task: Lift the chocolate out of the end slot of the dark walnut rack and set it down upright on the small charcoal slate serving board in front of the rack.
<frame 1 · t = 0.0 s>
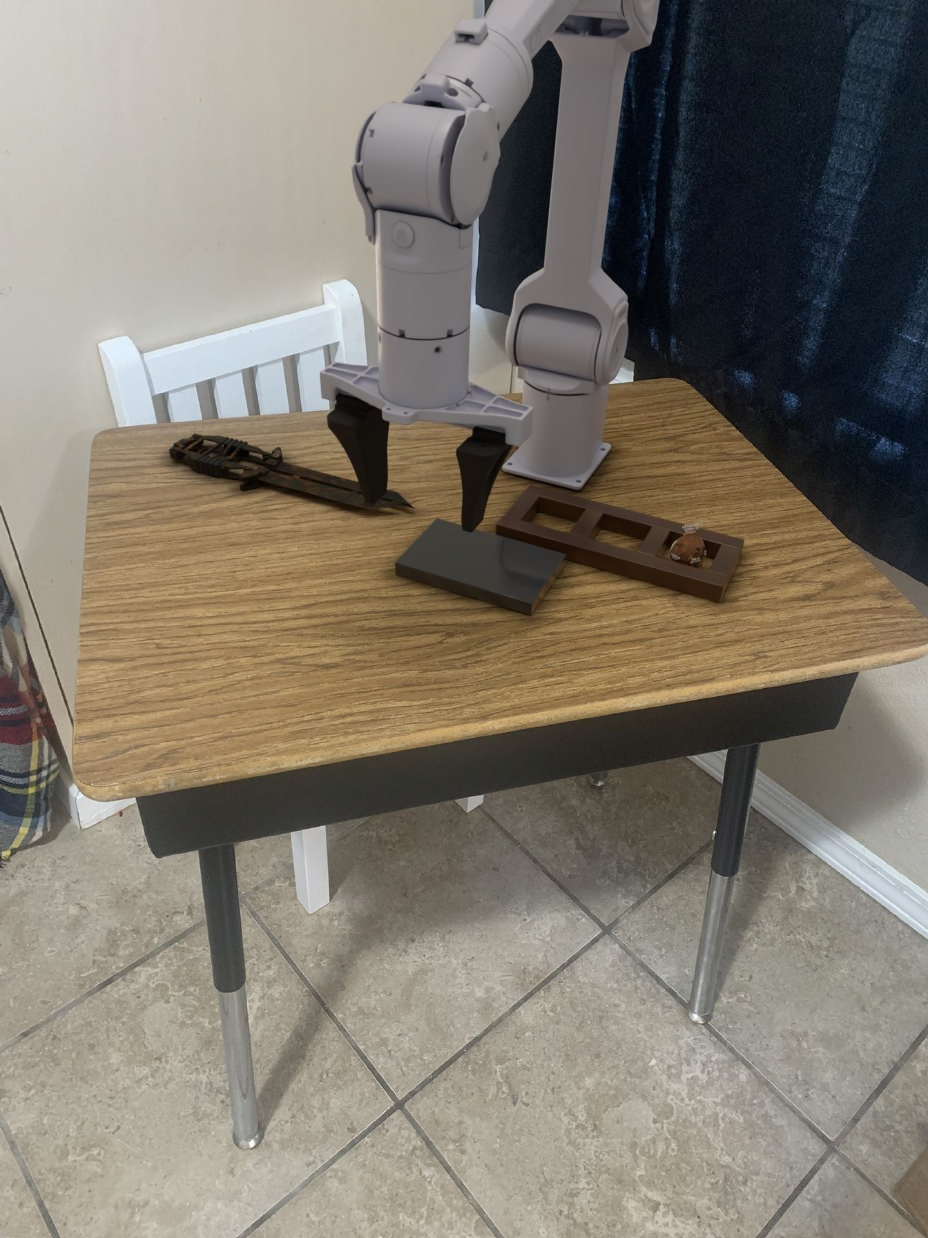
hand: (423, 510, 69), 10 cm above the table, tool pointing down, fingers open, 7 cm apart
chocolate: (685, 567, 82), resting in rack
knife: (293, 482, 91), on the table
rack: (617, 547, 84), on the table
board: (481, 570, 81), on the table
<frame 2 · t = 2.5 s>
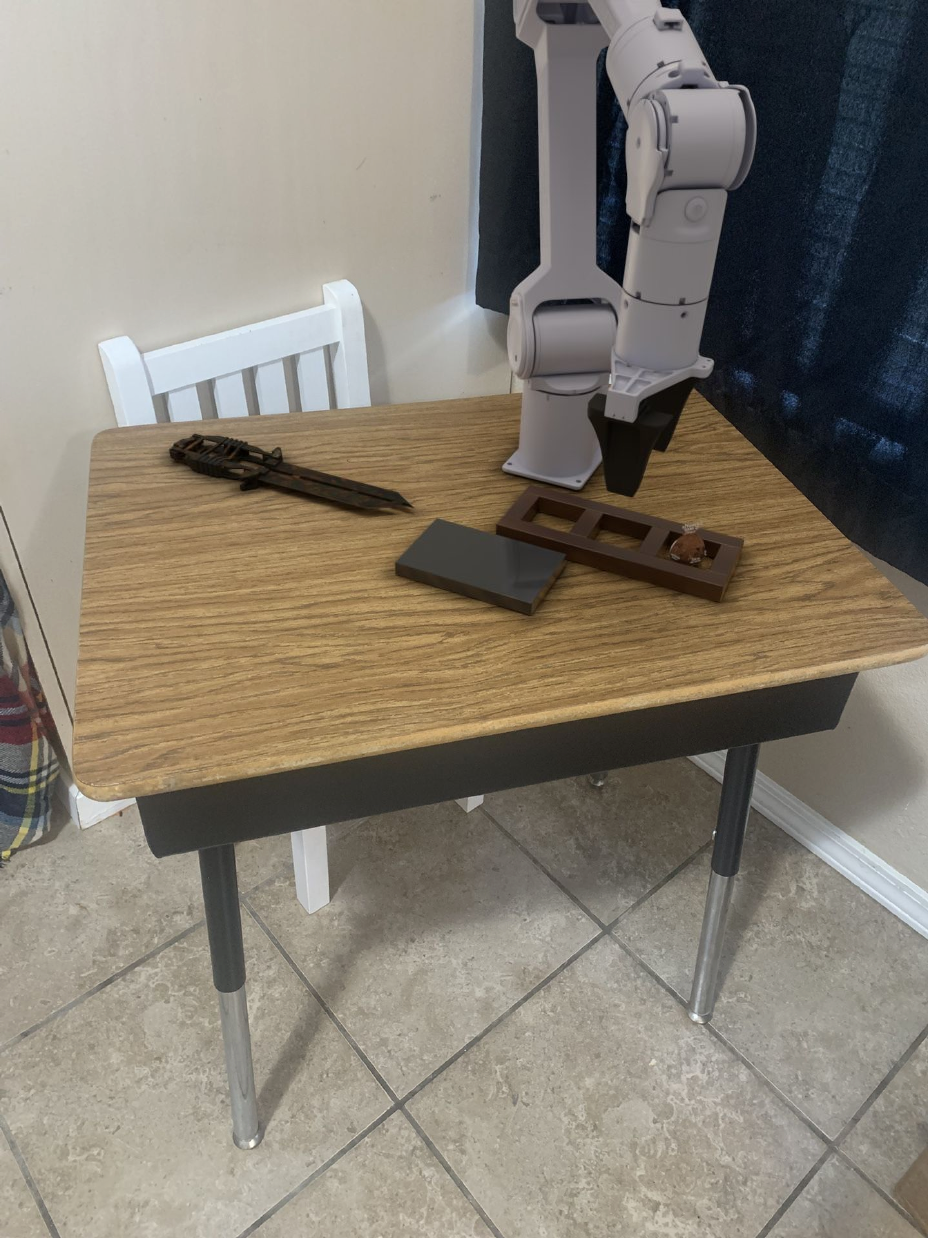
hand: (637, 469, 74), 10 cm above the table, tool pointing down, fingers open, 7 cm apart
nothing on the table moved.
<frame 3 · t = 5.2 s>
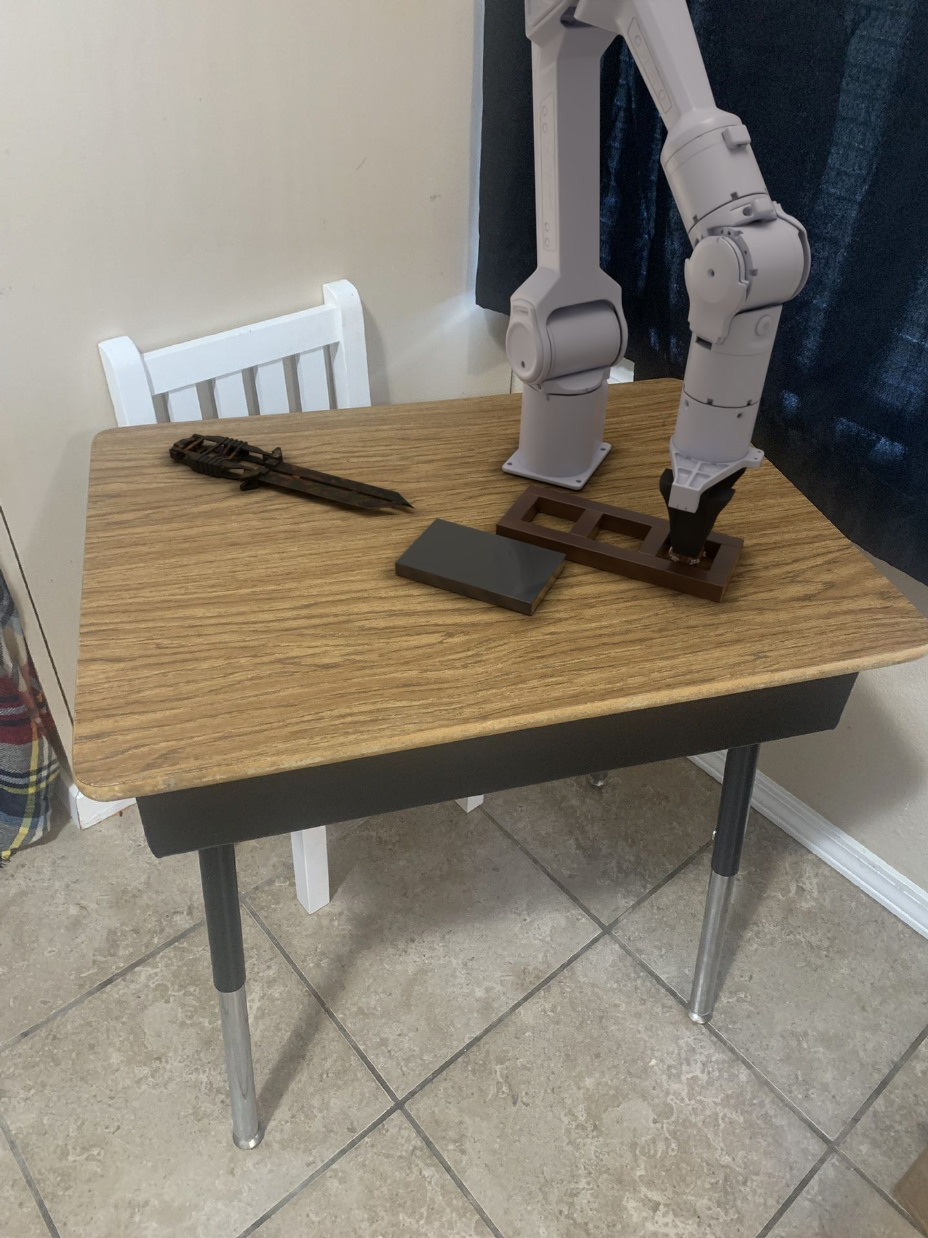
hand: (690, 544, 81), 2 cm above the table, tool pointing down, fingers closed on chocolate, 2 cm apart
chocolate: (684, 568, 82), resting in rack, touching gripper
everything else where it was.
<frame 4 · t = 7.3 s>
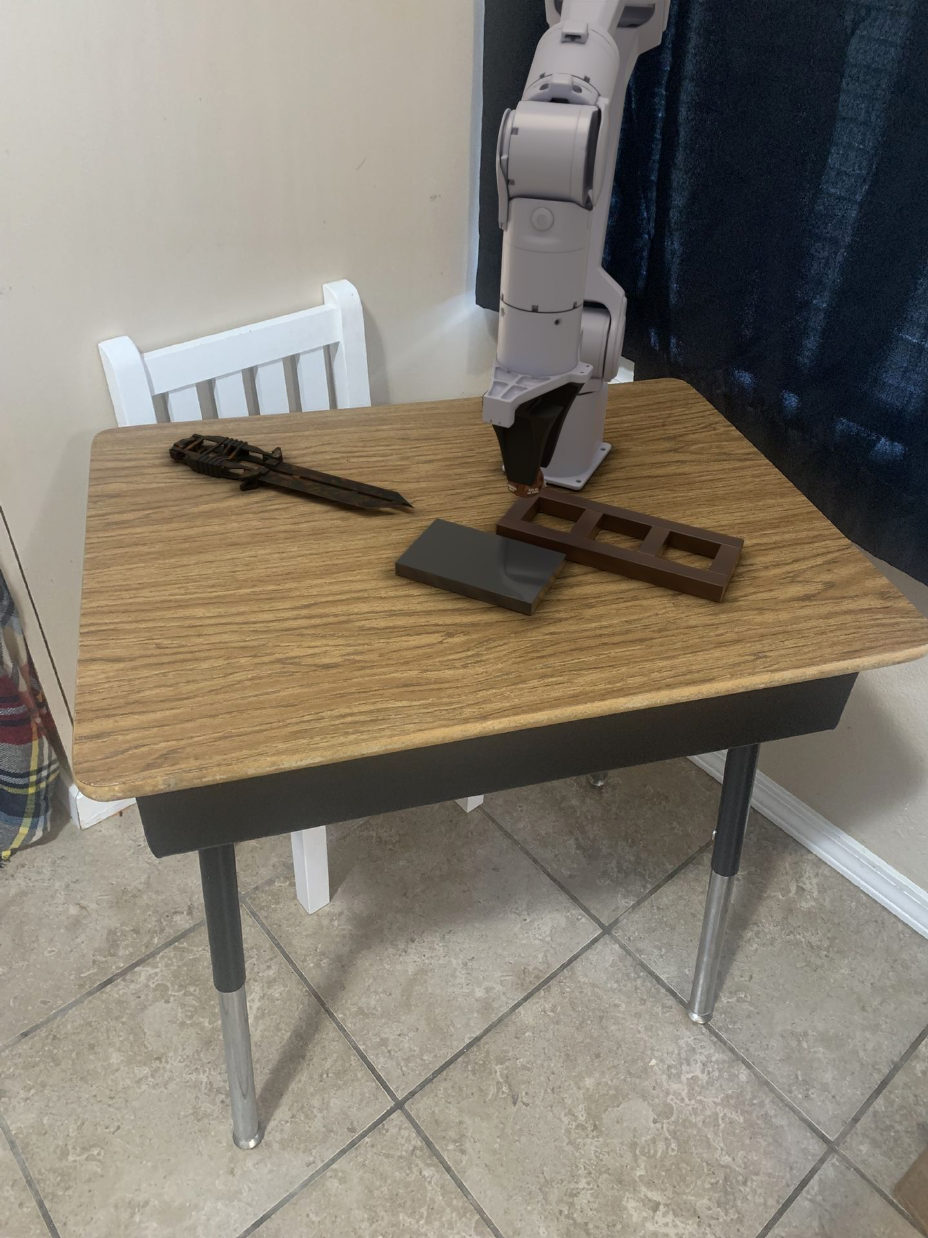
hand: (528, 472, 75), 9 cm above the table, tool pointing down, fingers closed on chocolate, 2 cm apart
chocolate: (525, 500, 76), point 7 cm above the table, touching gripper
everything else where it was.
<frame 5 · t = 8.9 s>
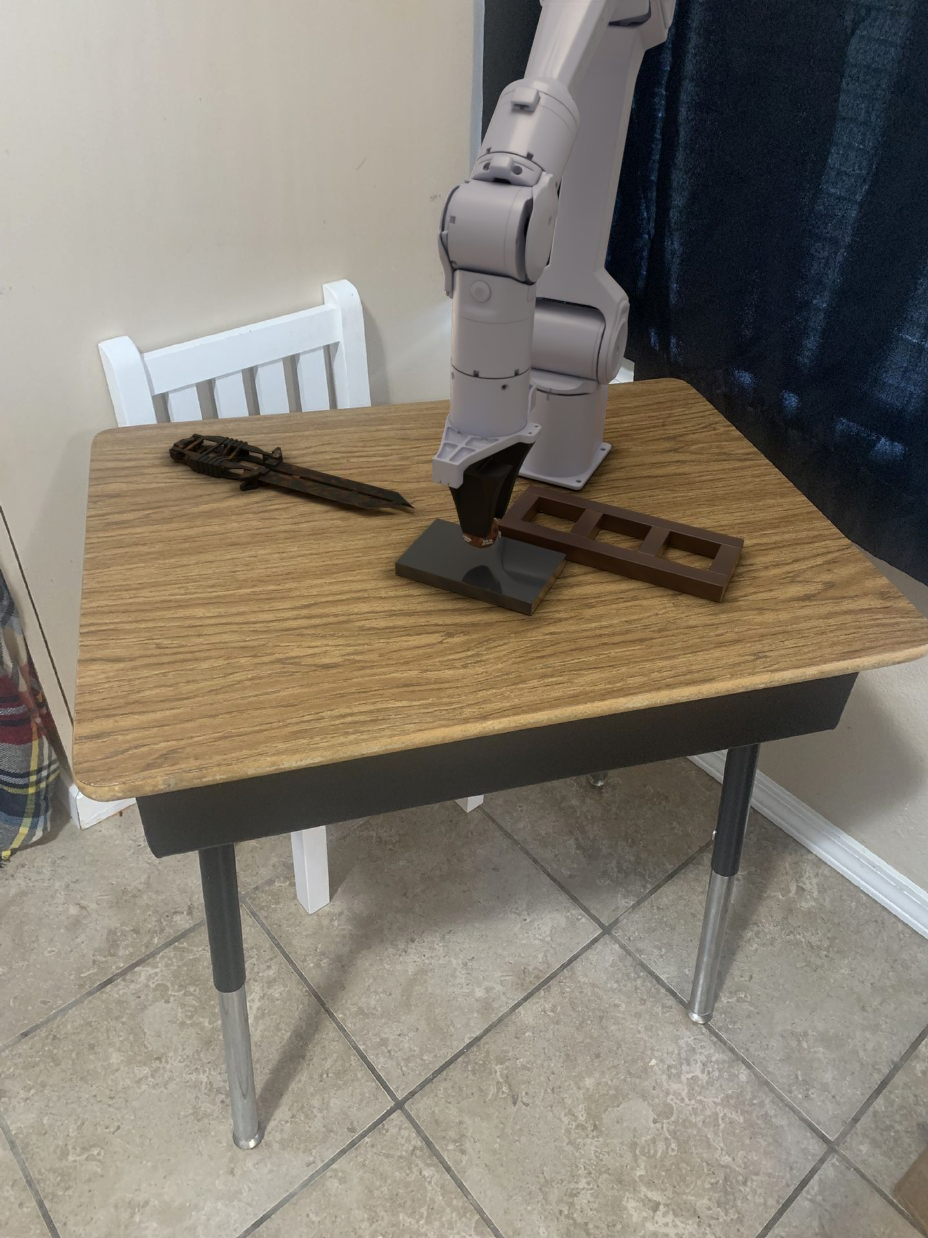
hand: (483, 524, 78), 4 cm above the table, tool pointing down, fingers closed on chocolate, 2 cm apart
chocolate: (481, 550, 79), point 2 cm above the table, touching gripper
everything else where it was.
when the fingers open (3 cm above the table, at t = 9.6 s): chocolate stays where it is, resting on board.
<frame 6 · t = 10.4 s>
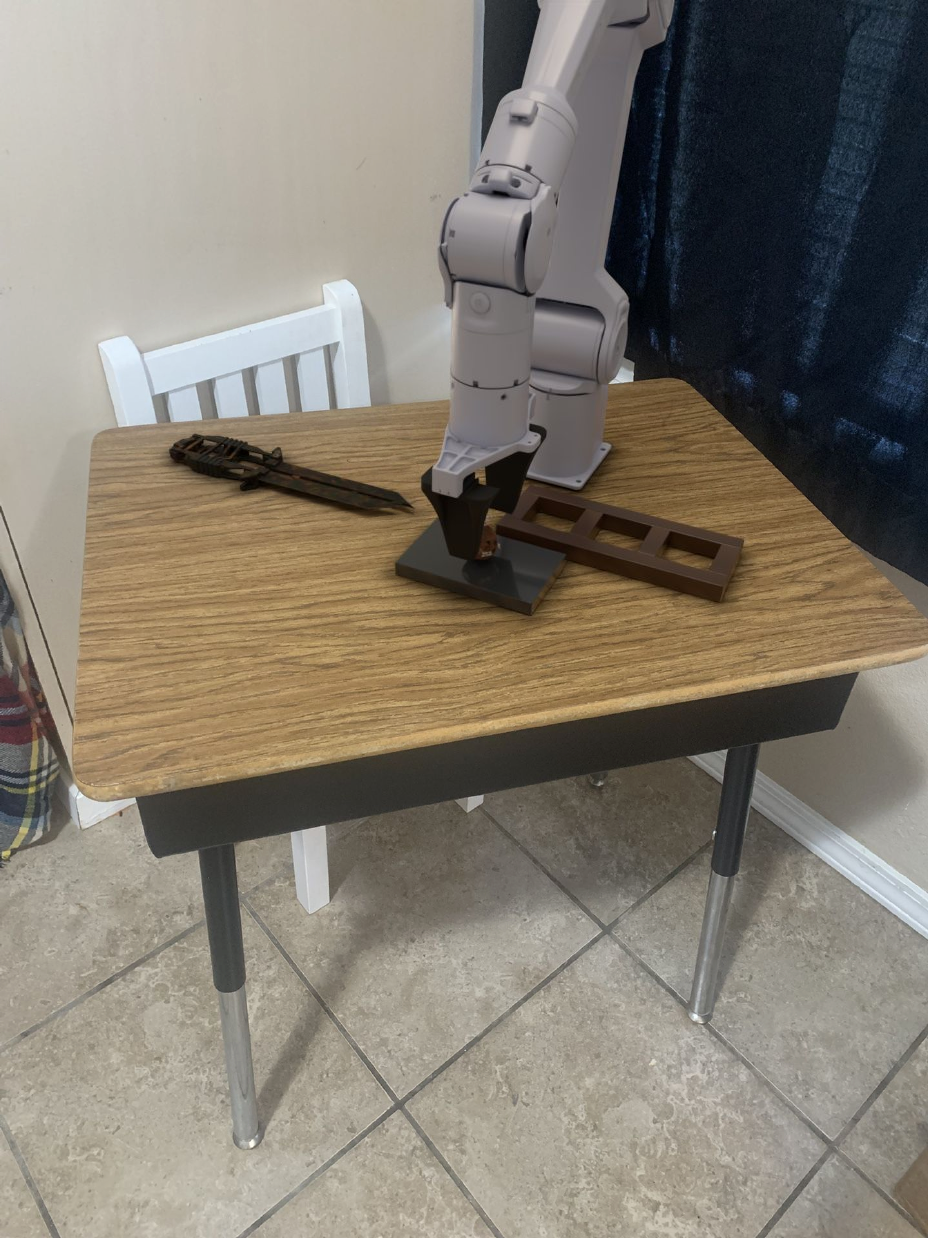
hand: (482, 532, 78), 4 cm above the table, tool pointing down, fingers open, 7 cm apart
chocolate: (480, 561, 80), point 1 cm above the table, touching board
everything else where it was.
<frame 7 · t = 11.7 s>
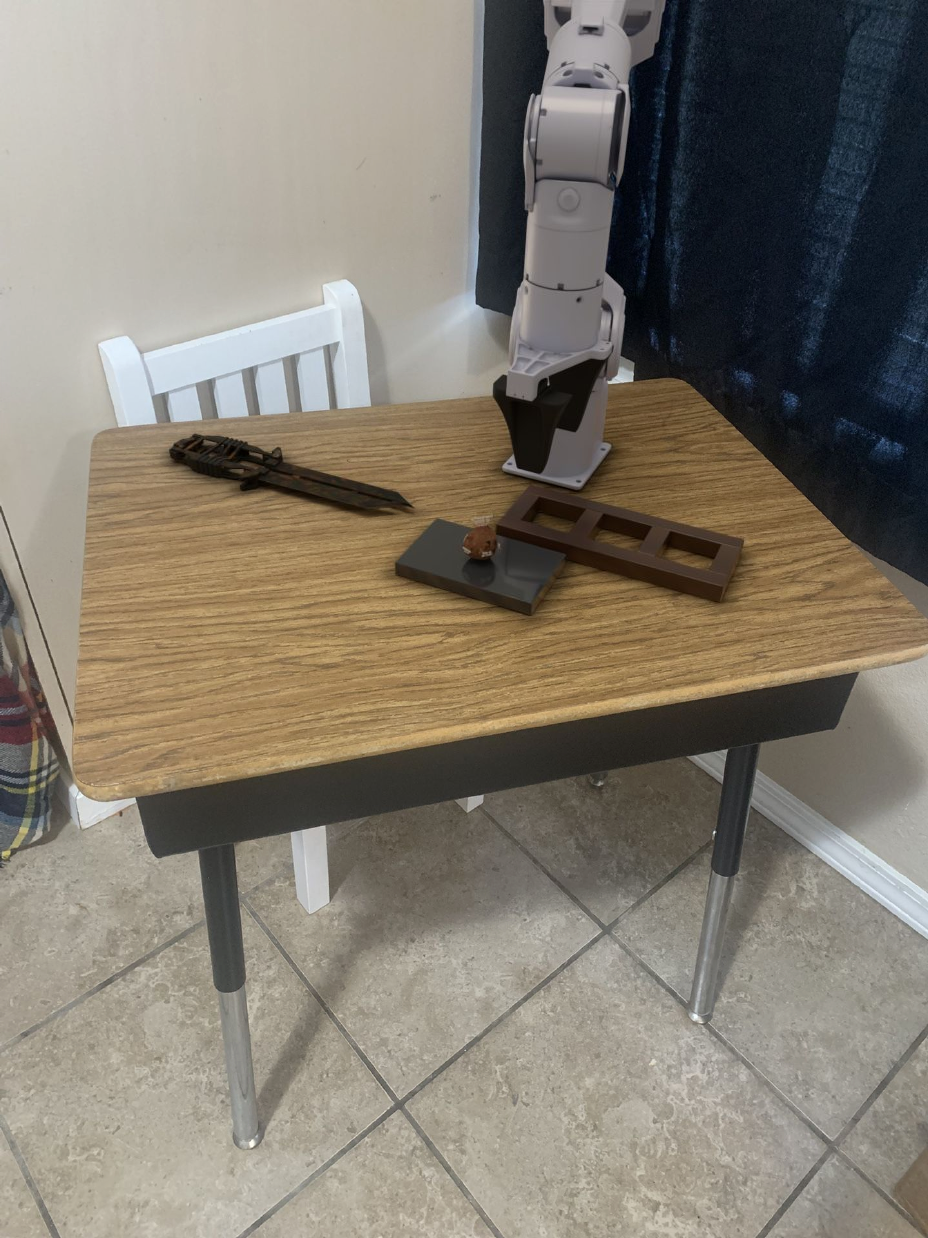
hand: (548, 448, 78), 9 cm above the table, tool pointing down, fingers open, 7 cm apart
nothing on the table moved.
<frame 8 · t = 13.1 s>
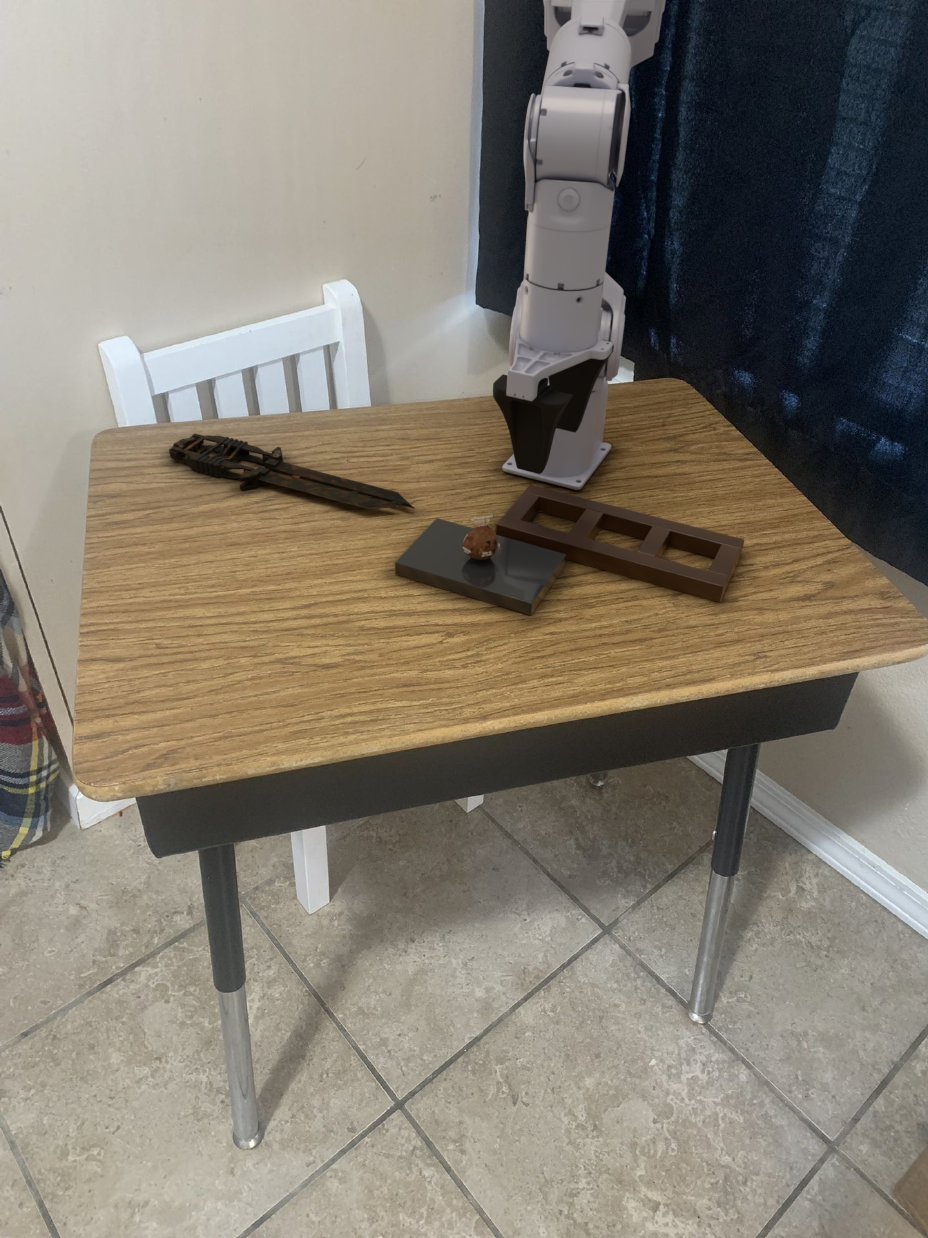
hand: (548, 448, 78), 9 cm above the table, tool pointing down, fingers open, 7 cm apart
nothing on the table moved.
at the end: chocolate inside the target area on the board (0.3 cm from its centre), point 1.0 cm above the board's base; chocolate tilted 0°; the gripper is holding nothing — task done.
